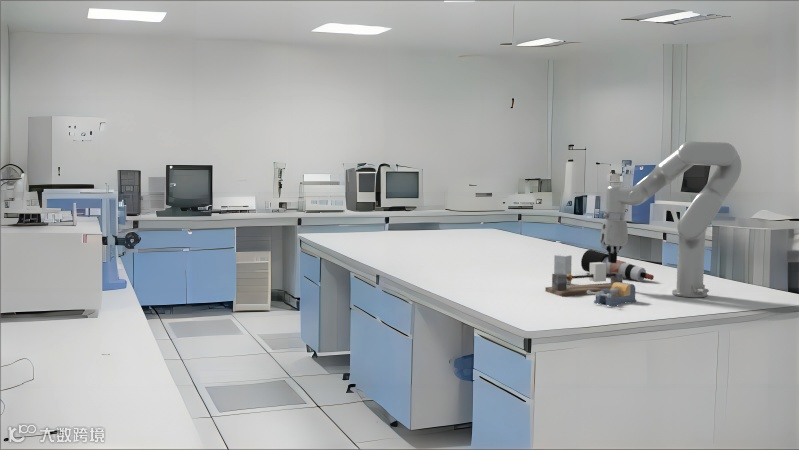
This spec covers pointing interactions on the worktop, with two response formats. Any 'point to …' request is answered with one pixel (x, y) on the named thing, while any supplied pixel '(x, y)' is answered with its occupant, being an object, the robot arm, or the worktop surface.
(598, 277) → the sleeve
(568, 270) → the skincare box
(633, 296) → the vise
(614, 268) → the cable
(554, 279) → the cord rack
